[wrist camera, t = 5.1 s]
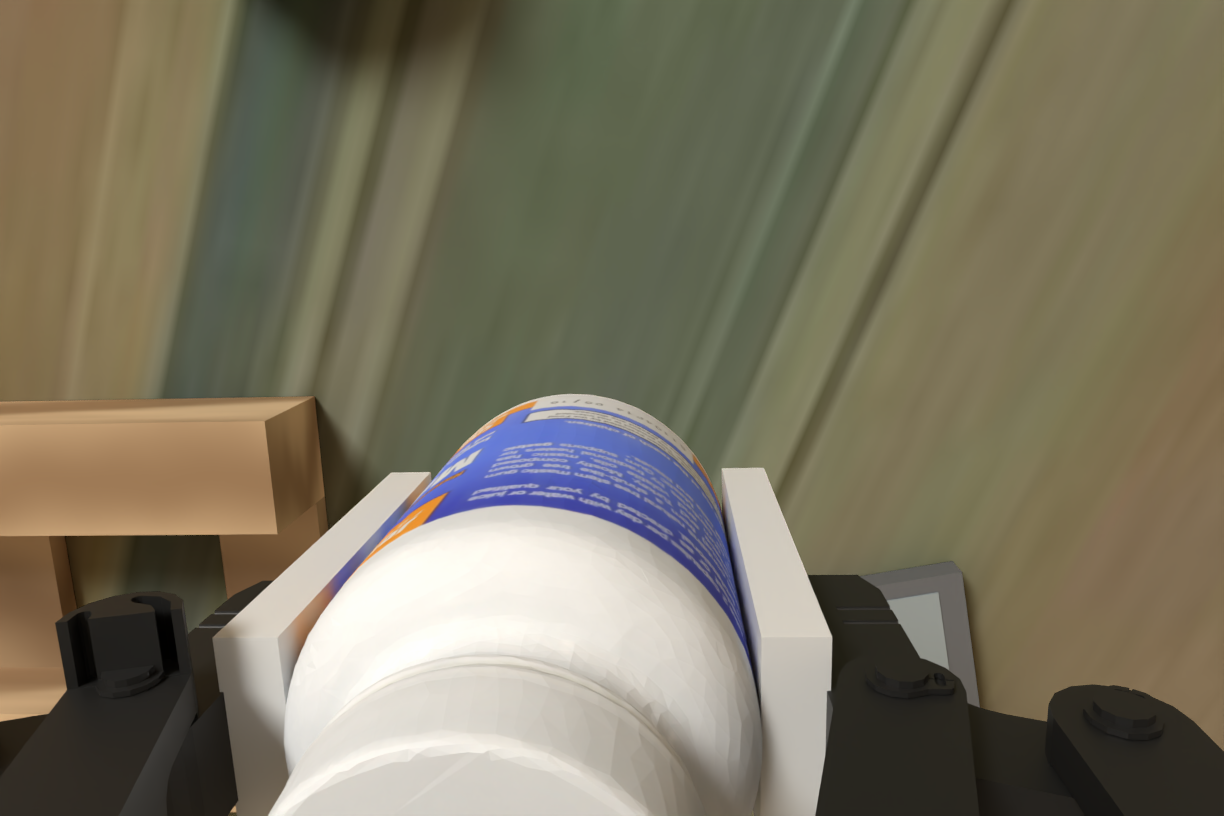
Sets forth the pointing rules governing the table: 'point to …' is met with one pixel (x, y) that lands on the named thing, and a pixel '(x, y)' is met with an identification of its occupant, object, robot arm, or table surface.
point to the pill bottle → (536, 638)
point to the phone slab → (933, 616)
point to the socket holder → (142, 504)
